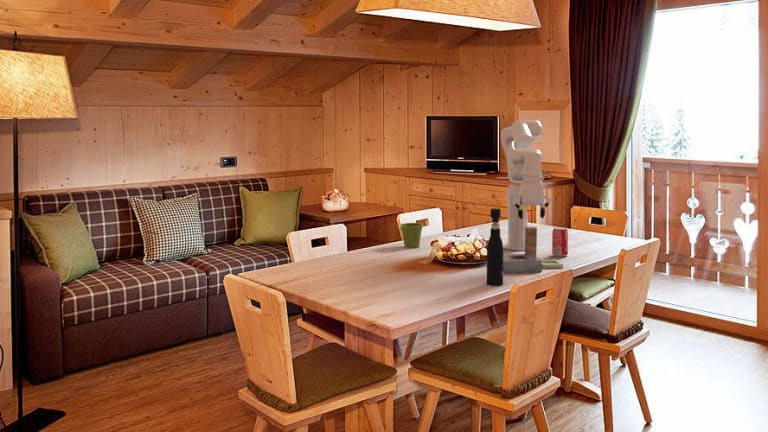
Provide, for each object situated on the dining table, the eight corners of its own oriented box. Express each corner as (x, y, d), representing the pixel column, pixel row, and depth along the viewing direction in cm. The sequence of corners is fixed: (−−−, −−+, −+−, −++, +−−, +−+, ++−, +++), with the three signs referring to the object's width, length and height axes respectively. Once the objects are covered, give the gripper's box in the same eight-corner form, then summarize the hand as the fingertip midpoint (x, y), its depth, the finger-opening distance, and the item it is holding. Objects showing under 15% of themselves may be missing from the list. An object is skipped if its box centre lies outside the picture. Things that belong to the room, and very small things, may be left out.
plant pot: (411, 243, 382) (411, 221, 380) (428, 246, 374) (428, 224, 372) (394, 247, 374) (394, 224, 373) (411, 250, 366) (411, 227, 364)
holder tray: (536, 264, 332) (536, 260, 332) (555, 263, 333) (556, 259, 333) (543, 268, 323) (543, 264, 323) (563, 267, 325) (563, 263, 324)
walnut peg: (524, 261, 337) (525, 226, 335) (533, 261, 338) (534, 226, 335) (527, 263, 333) (528, 228, 331) (536, 263, 334) (536, 227, 331)
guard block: (495, 266, 329) (495, 254, 329) (531, 264, 331) (531, 253, 331) (504, 273, 316) (504, 261, 315) (541, 271, 318) (541, 260, 317)
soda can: (568, 257, 345) (568, 229, 343) (551, 257, 347) (552, 229, 345) (567, 254, 352) (568, 226, 350) (551, 253, 354) (552, 226, 352)
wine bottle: (485, 282, 301) (485, 208, 296) (500, 282, 301) (501, 207, 297) (488, 286, 295) (489, 210, 290) (504, 285, 295) (505, 210, 290)
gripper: (548, 178, 334) (547, 216, 337) (510, 179, 332) (509, 217, 335) (554, 179, 327) (553, 218, 330) (515, 180, 325) (514, 220, 327)
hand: (531, 218), depth 332 cm, fingers open, 9 cm apart
